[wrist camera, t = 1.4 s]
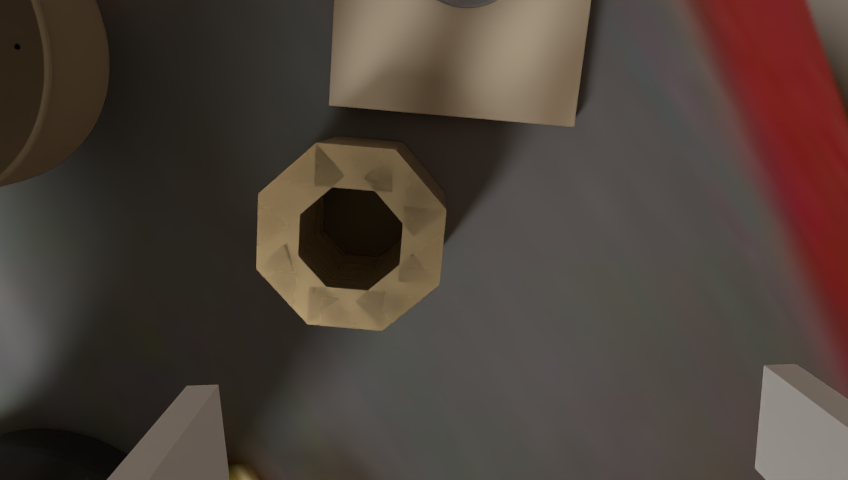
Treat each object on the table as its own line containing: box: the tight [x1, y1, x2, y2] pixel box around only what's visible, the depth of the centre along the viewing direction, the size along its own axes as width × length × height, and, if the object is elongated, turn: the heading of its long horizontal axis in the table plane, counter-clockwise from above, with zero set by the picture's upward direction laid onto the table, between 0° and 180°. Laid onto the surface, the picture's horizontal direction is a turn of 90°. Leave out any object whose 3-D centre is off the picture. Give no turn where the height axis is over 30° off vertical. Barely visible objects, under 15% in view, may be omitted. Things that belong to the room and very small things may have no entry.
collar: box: [256, 136, 447, 331], centre depth 29 cm, size 8×8×6 cm
